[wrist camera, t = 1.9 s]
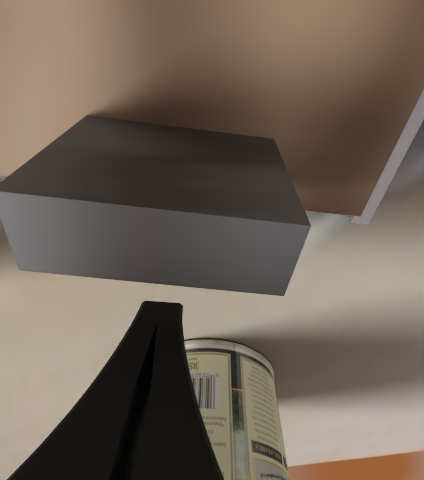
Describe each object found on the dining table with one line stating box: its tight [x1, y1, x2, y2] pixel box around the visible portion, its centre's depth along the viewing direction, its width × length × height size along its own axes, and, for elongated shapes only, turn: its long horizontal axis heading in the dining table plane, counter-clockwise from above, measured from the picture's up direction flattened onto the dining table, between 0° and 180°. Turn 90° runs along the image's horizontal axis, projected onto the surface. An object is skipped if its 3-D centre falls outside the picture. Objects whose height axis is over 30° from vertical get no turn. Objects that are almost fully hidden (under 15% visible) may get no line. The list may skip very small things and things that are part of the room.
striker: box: [0, 0, 424, 296], centre depth 8 cm, size 14×8×7 cm, turn 83°
